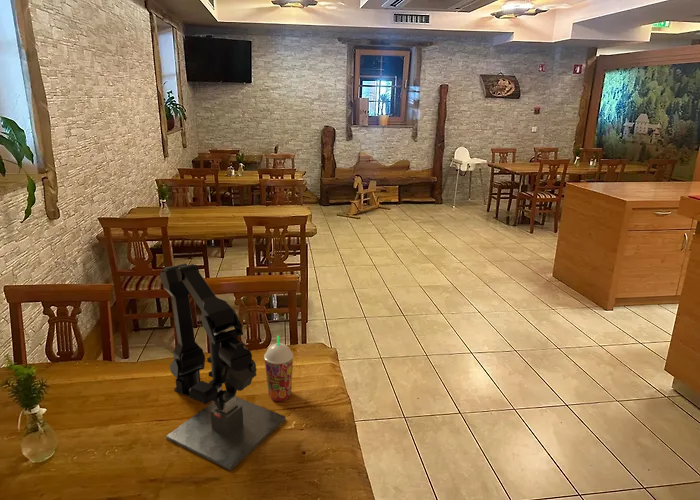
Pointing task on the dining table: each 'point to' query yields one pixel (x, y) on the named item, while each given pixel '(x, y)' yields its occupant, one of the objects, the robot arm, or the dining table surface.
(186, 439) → the stand base
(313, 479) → the dining table surface
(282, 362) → the smoothie
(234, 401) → the column
